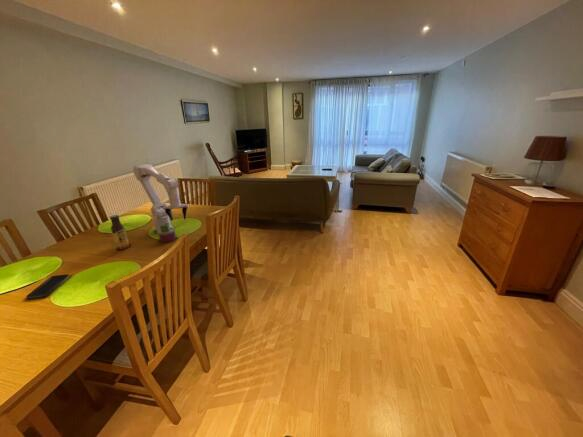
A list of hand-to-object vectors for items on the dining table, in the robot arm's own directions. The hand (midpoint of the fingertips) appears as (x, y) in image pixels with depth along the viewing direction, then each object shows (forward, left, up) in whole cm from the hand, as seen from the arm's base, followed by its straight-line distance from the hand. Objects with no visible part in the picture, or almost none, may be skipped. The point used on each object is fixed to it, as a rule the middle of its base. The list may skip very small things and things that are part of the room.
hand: (178, 219), depth 151 cm
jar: (-4, -8, -10) cm, 14 cm away
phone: (-20, -61, -10) cm, 65 cm away
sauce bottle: (-21, -24, -11) cm, 34 cm away
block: (-4, -8, -4) cm, 10 cm away
